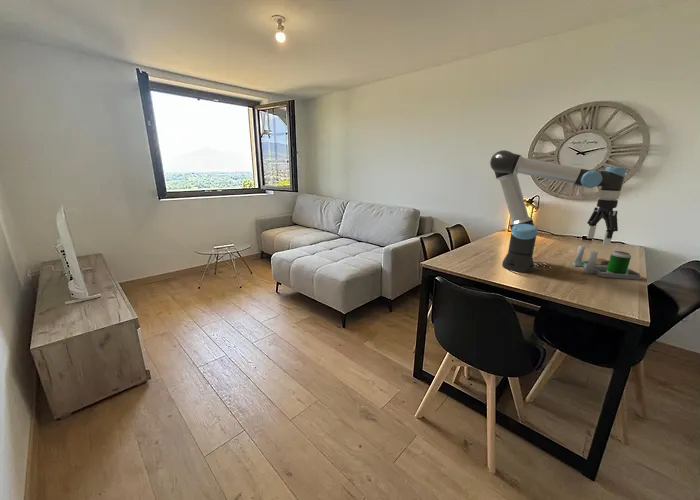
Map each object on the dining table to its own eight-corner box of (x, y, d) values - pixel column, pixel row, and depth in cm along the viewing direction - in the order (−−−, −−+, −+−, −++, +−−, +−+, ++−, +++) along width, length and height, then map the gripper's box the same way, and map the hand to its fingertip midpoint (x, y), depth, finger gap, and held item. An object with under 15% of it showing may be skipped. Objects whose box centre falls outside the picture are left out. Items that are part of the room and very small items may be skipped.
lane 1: (577, 267, 159) (582, 248, 156) (569, 262, 168) (573, 244, 165) (621, 270, 155) (627, 250, 152) (610, 265, 164) (616, 246, 161)
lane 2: (591, 276, 147) (596, 255, 144) (578, 268, 158) (583, 248, 155) (639, 279, 143) (646, 258, 140) (623, 271, 154) (629, 251, 151)
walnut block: (599, 268, 159) (601, 261, 158) (593, 266, 163) (595, 258, 162) (607, 269, 159) (610, 261, 158) (601, 266, 163) (603, 258, 162)
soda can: (628, 277, 146) (635, 255, 142) (611, 276, 147) (618, 254, 144) (618, 272, 153) (625, 251, 149) (602, 271, 154) (608, 250, 151)
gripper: (635, 202, 129) (623, 247, 135) (601, 197, 153) (591, 236, 158) (616, 201, 131) (604, 246, 136) (585, 196, 154) (576, 235, 160)
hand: (597, 241), depth 147 cm, fingers open, 13 cm apart
